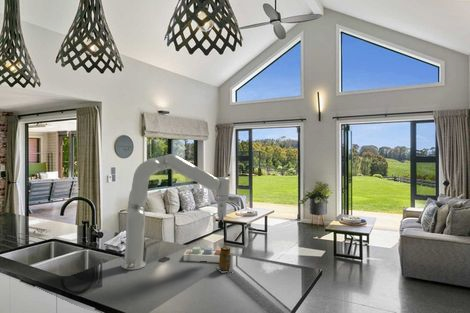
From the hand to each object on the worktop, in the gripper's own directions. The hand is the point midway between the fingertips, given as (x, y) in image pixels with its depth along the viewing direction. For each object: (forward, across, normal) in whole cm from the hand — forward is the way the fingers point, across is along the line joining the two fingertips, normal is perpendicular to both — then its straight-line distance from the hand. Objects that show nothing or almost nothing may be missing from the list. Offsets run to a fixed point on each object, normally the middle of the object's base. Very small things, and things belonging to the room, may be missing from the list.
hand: (220, 227), depth 179 cm
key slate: (+16, 0, +7) cm, 18 cm away
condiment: (+19, -17, -4) cm, 26 cm away
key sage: (+16, 0, +14) cm, 22 cm away
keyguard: (+19, 0, +8) cm, 21 cm away
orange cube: (+16, 0, 0) cm, 16 cm away
